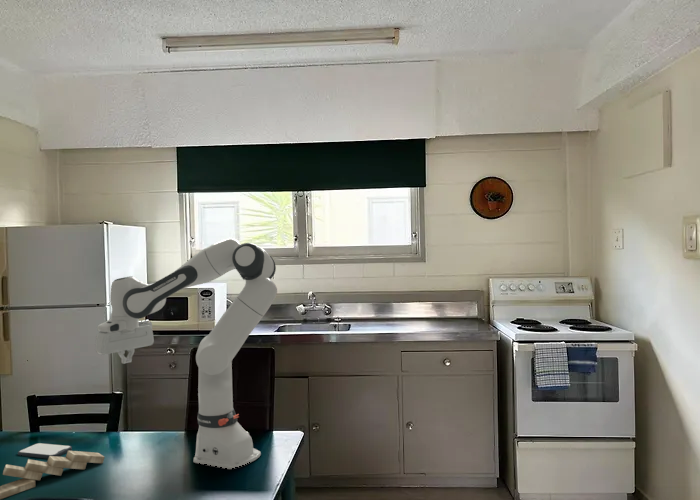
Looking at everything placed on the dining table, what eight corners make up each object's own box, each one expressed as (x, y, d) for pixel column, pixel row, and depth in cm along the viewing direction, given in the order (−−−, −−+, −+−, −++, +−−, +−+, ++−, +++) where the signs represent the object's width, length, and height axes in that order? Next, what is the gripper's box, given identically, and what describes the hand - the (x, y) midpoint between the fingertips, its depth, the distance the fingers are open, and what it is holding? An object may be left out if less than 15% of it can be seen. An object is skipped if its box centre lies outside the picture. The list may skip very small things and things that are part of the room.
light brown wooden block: (81, 458, 173) (49, 455, 166) (86, 462, 169) (53, 460, 163) (79, 465, 172) (46, 462, 166) (84, 469, 169) (51, 467, 162)
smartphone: (15, 456, 182) (52, 460, 177) (15, 452, 182) (52, 455, 177) (38, 447, 191) (73, 450, 186) (38, 442, 190) (73, 445, 186)
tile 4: (42, 470, 165) (5, 464, 160) (42, 473, 160) (5, 467, 156) (39, 476, 164) (3, 471, 159) (40, 480, 160) (2, 474, 155)
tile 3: (62, 465, 168) (28, 459, 164) (63, 468, 164) (27, 463, 159) (60, 471, 168) (25, 465, 163) (60, 475, 163) (25, 470, 159)
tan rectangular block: (98, 452, 177) (67, 450, 170) (104, 456, 174) (73, 454, 167) (96, 459, 177) (65, 457, 170) (102, 463, 173) (71, 461, 166)
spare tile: (27, 476, 161) (-11, 489, 153) (35, 480, 158) (-4, 494, 150) (28, 483, 161) (-10, 496, 153) (35, 487, 158) (-3, 501, 150)
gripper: (146, 318, 197) (147, 355, 198) (92, 326, 181) (93, 367, 181) (156, 319, 193) (158, 357, 194) (102, 328, 177) (103, 370, 177)
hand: (126, 362), depth 187 cm, fingers closed
